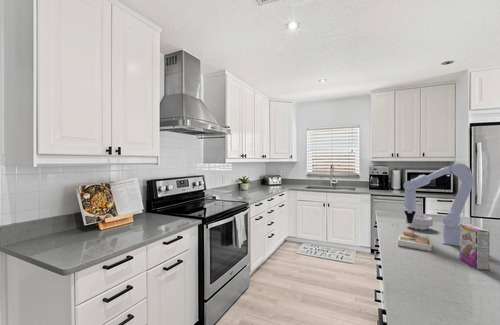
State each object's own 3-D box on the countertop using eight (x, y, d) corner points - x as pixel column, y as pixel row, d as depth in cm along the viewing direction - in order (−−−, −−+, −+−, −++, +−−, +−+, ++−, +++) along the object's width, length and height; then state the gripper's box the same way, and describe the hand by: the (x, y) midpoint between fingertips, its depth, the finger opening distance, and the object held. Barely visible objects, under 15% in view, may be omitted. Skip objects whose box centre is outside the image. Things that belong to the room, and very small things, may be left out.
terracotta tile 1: (427, 243, 130) (427, 240, 130) (427, 246, 126) (427, 242, 126) (416, 242, 133) (416, 238, 133) (415, 244, 129) (415, 240, 129)
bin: (430, 244, 130) (430, 239, 130) (431, 251, 120) (431, 245, 120) (399, 239, 138) (399, 234, 138) (398, 245, 128) (398, 240, 128)
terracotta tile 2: (414, 234, 141) (414, 231, 141) (413, 236, 137) (413, 233, 137) (403, 233, 144) (404, 229, 144) (403, 235, 140) (403, 231, 140)
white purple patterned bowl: (409, 230, 158) (409, 218, 158) (402, 224, 172) (402, 213, 172) (436, 232, 153) (437, 219, 153) (427, 226, 168) (427, 215, 168)
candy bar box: (458, 258, 111) (458, 223, 111) (471, 259, 110) (471, 224, 110) (475, 269, 100) (476, 230, 100) (490, 270, 99) (490, 230, 99)
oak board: (428, 239, 139) (428, 236, 139) (429, 244, 130) (429, 241, 130) (402, 235, 146) (402, 232, 146) (400, 240, 137) (400, 236, 137)
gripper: (402, 198, 155) (402, 219, 155) (401, 201, 143) (401, 224, 143) (416, 199, 151) (416, 221, 151) (416, 202, 139) (415, 226, 139)
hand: (409, 223), depth 147 cm, fingers closed
